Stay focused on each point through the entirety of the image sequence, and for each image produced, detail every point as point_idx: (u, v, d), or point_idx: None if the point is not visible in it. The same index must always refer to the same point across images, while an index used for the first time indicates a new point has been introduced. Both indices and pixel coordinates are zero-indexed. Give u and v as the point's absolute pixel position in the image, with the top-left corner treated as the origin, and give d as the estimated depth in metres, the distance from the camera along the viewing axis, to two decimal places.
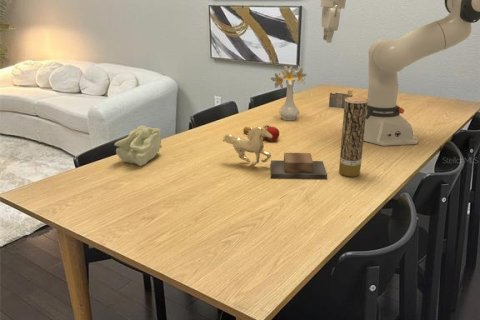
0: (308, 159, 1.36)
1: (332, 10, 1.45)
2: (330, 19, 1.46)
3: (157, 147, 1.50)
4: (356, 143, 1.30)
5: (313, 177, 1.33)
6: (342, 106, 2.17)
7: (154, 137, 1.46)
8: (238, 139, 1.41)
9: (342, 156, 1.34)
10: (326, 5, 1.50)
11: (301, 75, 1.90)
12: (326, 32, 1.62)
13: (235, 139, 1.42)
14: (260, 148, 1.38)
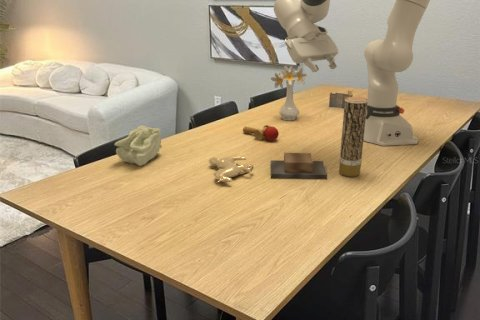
0: (308, 159, 1.36)
1: (287, 46, 1.32)
2: (290, 54, 1.31)
3: (157, 147, 1.50)
4: (356, 143, 1.30)
5: (313, 177, 1.33)
6: (342, 106, 2.17)
7: (154, 137, 1.46)
8: (218, 167, 1.40)
9: (342, 156, 1.34)
10: None
11: (301, 75, 1.90)
12: (331, 60, 1.38)
13: None
14: (236, 175, 1.35)
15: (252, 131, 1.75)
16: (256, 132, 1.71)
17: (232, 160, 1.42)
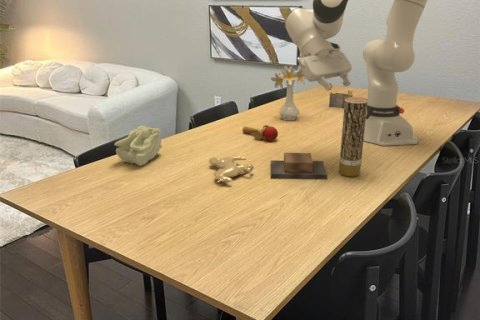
0: (308, 159, 1.36)
1: None
2: (303, 72, 1.29)
3: (157, 147, 1.50)
4: (356, 143, 1.30)
5: (313, 177, 1.33)
6: (342, 106, 2.17)
7: (154, 137, 1.46)
8: (218, 167, 1.40)
9: (342, 156, 1.34)
10: None
11: (301, 75, 1.90)
12: (344, 77, 1.36)
13: None
14: (236, 175, 1.35)
15: (251, 131, 1.75)
16: (255, 132, 1.71)
17: (232, 160, 1.42)
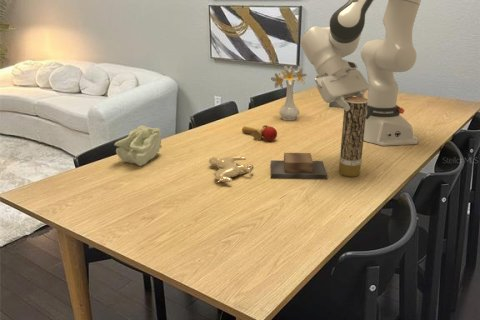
0: (308, 159, 1.36)
1: (317, 84, 1.27)
2: (320, 93, 1.26)
3: (157, 147, 1.50)
4: (356, 143, 1.30)
5: (313, 177, 1.33)
6: None
7: (154, 137, 1.46)
8: (218, 167, 1.40)
9: (342, 156, 1.34)
10: None
11: (301, 75, 1.90)
12: None
13: None
14: (236, 175, 1.35)
15: (251, 131, 1.75)
16: (255, 132, 1.71)
17: (232, 160, 1.42)
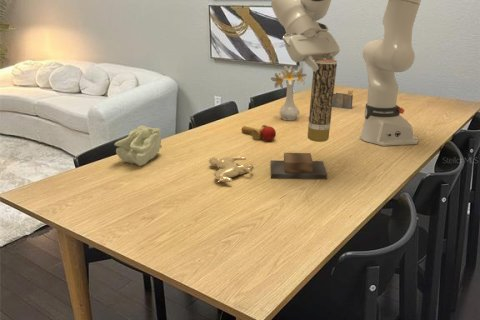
0: (308, 159, 1.36)
1: (285, 43, 1.23)
2: (288, 52, 1.22)
3: (157, 147, 1.50)
4: (324, 106, 1.27)
5: (313, 177, 1.33)
6: (342, 106, 2.17)
7: (154, 137, 1.46)
8: (218, 167, 1.40)
9: (310, 120, 1.30)
10: None
11: (301, 75, 1.90)
12: None
13: None
14: (236, 175, 1.35)
15: (250, 131, 1.75)
16: (254, 132, 1.71)
17: (232, 160, 1.42)
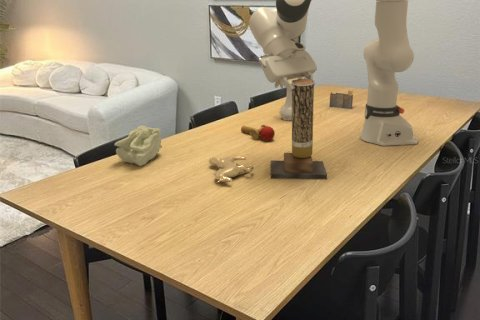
0: (308, 159, 1.36)
1: None
2: (265, 73, 1.26)
3: (157, 147, 1.50)
4: (305, 125, 1.31)
5: (313, 177, 1.33)
6: (342, 106, 2.17)
7: (154, 137, 1.46)
8: (218, 167, 1.40)
9: (293, 138, 1.35)
10: None
11: None
12: (309, 78, 1.33)
13: None
14: (236, 175, 1.35)
15: (249, 130, 1.76)
16: (252, 131, 1.71)
17: (232, 160, 1.42)
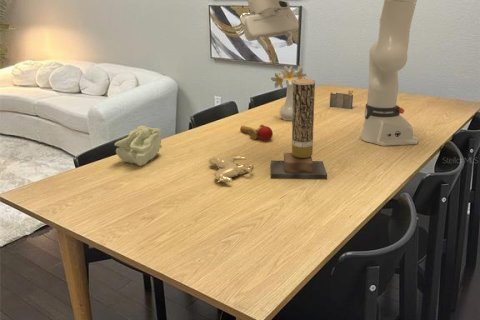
0: (308, 159, 1.36)
1: None
2: (244, 31, 1.37)
3: (157, 147, 1.50)
4: (306, 124, 1.32)
5: (313, 177, 1.33)
6: (343, 106, 2.17)
7: (154, 137, 1.46)
8: (218, 167, 1.40)
9: (293, 138, 1.36)
10: None
11: (301, 75, 1.90)
12: (289, 37, 1.42)
13: None
14: (236, 175, 1.35)
15: (248, 130, 1.76)
16: (251, 131, 1.72)
17: (232, 160, 1.42)
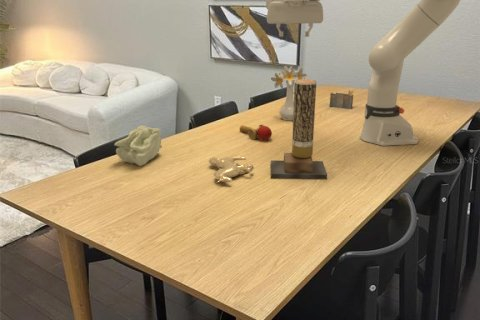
0: (308, 159, 1.36)
1: None
2: None
3: (157, 147, 1.50)
4: (306, 124, 1.32)
5: (313, 177, 1.33)
6: (343, 106, 2.17)
7: (154, 137, 1.46)
8: (218, 167, 1.40)
9: (294, 138, 1.36)
10: None
11: (301, 75, 1.90)
12: (309, 28, 1.51)
13: None
14: (236, 175, 1.35)
15: (247, 130, 1.76)
16: (250, 131, 1.72)
17: (232, 160, 1.42)
